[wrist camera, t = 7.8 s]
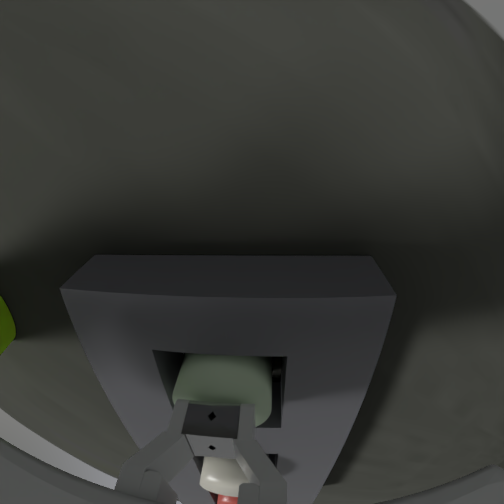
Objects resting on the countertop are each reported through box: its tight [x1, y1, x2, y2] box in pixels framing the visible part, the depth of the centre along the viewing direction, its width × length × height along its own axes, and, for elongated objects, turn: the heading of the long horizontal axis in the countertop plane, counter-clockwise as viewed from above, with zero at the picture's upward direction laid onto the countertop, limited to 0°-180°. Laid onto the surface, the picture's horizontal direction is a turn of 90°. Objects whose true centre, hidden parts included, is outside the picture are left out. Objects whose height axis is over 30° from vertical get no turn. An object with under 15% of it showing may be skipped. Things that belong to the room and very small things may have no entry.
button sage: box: [172, 353, 272, 427], centre depth 12 cm, size 4×4×3 cm
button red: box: [217, 494, 238, 504], centre depth 19 cm, size 4×4×3 cm
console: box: [59, 255, 397, 504], centre depth 16 cm, size 26×12×3 cm, turn 1°
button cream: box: [200, 454, 269, 497], centre depth 15 cm, size 4×4×3 cm
